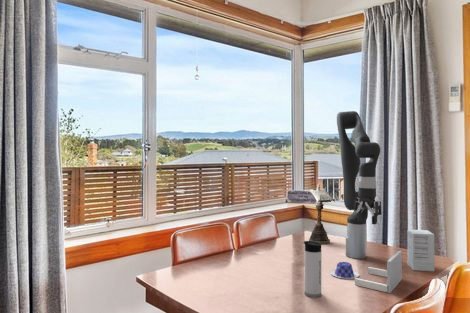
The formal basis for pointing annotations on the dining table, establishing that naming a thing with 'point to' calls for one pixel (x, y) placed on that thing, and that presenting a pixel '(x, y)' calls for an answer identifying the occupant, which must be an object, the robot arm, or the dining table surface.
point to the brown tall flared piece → (319, 231)
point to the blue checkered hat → (344, 271)
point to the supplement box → (421, 250)
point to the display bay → (385, 275)
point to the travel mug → (312, 268)
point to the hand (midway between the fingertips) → (366, 222)
